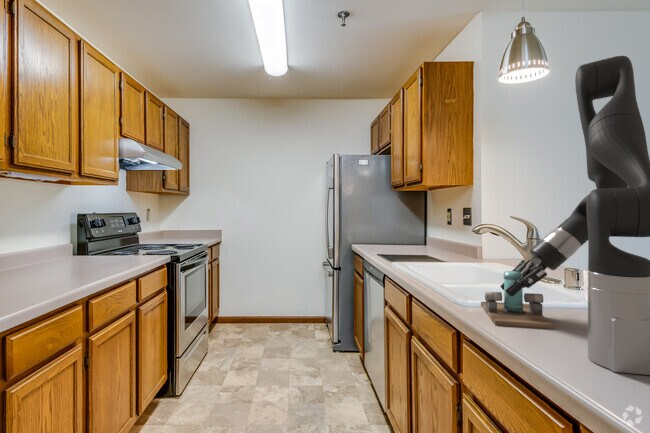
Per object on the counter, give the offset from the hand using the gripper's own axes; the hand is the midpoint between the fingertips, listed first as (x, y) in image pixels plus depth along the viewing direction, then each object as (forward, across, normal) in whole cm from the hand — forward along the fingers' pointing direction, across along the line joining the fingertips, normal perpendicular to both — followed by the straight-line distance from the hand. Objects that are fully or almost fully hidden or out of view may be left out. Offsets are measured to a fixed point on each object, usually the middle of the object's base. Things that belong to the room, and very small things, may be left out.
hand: (505, 291), depth 94 cm
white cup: (-17, -19, +27) cm, 37 cm away
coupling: (+2, 0, +5) cm, 5 cm away
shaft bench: (+3, 0, +6) cm, 7 cm away
